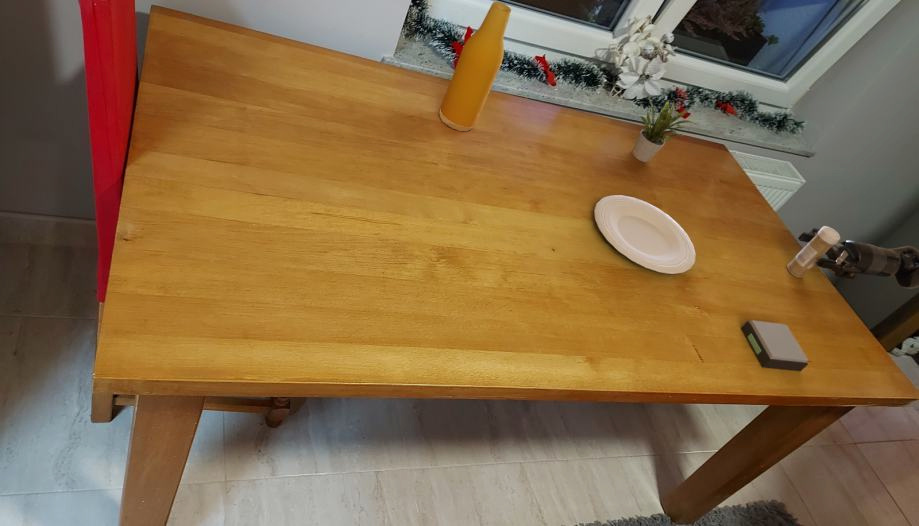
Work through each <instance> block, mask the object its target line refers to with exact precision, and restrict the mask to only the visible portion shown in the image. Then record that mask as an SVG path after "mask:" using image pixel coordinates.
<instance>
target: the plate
mask: <svg viewBox="0 0 919 526" xmlns="http://www.w3.org/2000/svg"><path fill="white" fill-rule="evenodd" d="M593 214H594V221H595V224H596V226H597V229H598V230H599V232H600V233H601V235H602V236H603V237H604V239H605V240H606V242H608V244H609V245H610V246H612V248H614V249H615V250H616V251H617V252H618V253H619V254H620V255H622V256H624V257H625V258H626V259H628V260H629V261H631V263H632V262H633V263H634V264H636V265H638V266H640V267H642V268H644V269H647V270H649V271H653V272H656V273H659V274H665V275H680V274H684V273H686V272H688V271H689V270H691V269H692V267H693V266H694V264H695V263H696V255H697V254H696V250H695V247H694V244H693V242H692V241H691V238H690V237H689V235H688V233H687V232H686V231H685V230H684V228H683V227H682V226H681V225H680V224H679V223H678V222H677V221H676V220H674V219H673V218H672V217H671V215H669V214H667V213H666V212H664V211H663V210H661V209H660V208H658V207H656V206H655V205H654V204H650V203H649V202H647V201H645V200H642V199H639V198H637V197H633V196H628V195H622V194H620V195H619V194H612V195H611V194H610V195H607V196H605V197H604V196H603V197H602V198H601V199H600V200H599V201H597V202H596V204H595V207H594V209H593Z"/></svg>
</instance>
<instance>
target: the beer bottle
mask: <svg viewBox="0 0 919 526" xmlns="http://www.w3.org/2000/svg"><path fill="white" fill-rule="evenodd" d="M511 13H512V8H510V6H508V5H507V4H505V3H503V2H500V1H493V2H492V4H491V5H490V7H489V9H488V11H487V12H486V15H485V17H484V19H483V20H482V23H481V24H480V26H479V28H478V29H477V30H476V31H475V32H474V33H472V34H471V36H469V37H468V39H467V40H466V41H465V43H464V45H463V47H462V50H461V51H460V55H459V58H458V61H457V62H456V66H455V68H454V71H453V74H452V76H451V79H450V82H449V84H448V87H447V89H446V93H445V94H444V98H443V100H442V102H441V105H440V107H441V108H440V107H439V110H440V109H441V112H442V114H443V115H444V116H445V117H446V118H447V119H448V120H450V121H451V122H453V123H455V124H457V125H461V126H464V127H471V126H474V125H475V124H476V125H477V123H478V121H479V118H480V116H481V113H482V111H483V108H484V106H485V104H486V101H487V99H488V96H489V94H490V92H491V90H492V87H493V85H494V82H495V80H496V77H497V75H498V73H499V71H500V69H501V66H502V63H503V60H504V55H505V54H504V52H505V48H504V46H505V45H504V38H505V33H506V29H507V27H508V23H509V20H510V17H511ZM476 125H475V126H476Z"/></svg>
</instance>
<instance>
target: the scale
mask: <svg viewBox="0 0 919 526" xmlns="http://www.w3.org/2000/svg"><path fill="white" fill-rule="evenodd" d="M740 330H741V332H742V333H743V335H744V338H745V339H746V341H747V343H748V345H749V346H750V348H751V350H752V352H753V353H754V356H755V357H756V359H757V361H758V363H759V364H760V366H761V368H762V369H773V370H784V371H792V372H793V371H794V372H802V371H803V370H805V368H806V367H807V366H808V365H809V363H808V361H809V359H808V357H807V355H806V354H805V352H804V351H803V349H802V347H801V346H800V345H799V342H798V341H797V339H796V338H795V335H794V334H793V333H792V331H791V329H790V328H789V326H788V324H784V323H777V322H771V321H762V320H761V321H760V320H754V319H752V320H750V321H749V320H747V321H746V322H745V323H744V324H743V325H742V326H741V327H740Z"/></svg>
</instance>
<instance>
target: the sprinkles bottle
mask: <svg viewBox="0 0 919 526" xmlns="http://www.w3.org/2000/svg"><path fill="white" fill-rule="evenodd" d="M819 229H820V230H819V231H818V233H817V235H816V236H815V237H814V238H813V239H812V240H811V241H810V242H809V243H808V242H807V244H806V245H805V246H804V247H802V249H801V250H800V251H799V252H798V253H797V254H796V255H795V257H794V258H793V259H792V260H791V261H790V262H789V263H788V264H787V265H786V269H787V272H788V273H790V275H791V276H794V277H795V278H800V279H802V278H804V277H805V275H806V274H807V273H808V272H809V271H810V270H811V269H812V268H813V267H814V266H815V265H816V263H817V262H818V261H819V260H820V259H821V258H823V256H824V255H826V254H825V253H826V252H827V251H828V250H829V249H830V248H831V247H832V246H833V245H834V244H836V243H837V242H839V241H840V240H841V235H840V234H839V232H838V231H837V230H835V229H834V228H832V227H830V226H828V225H823V226H822V227H821V228H819Z"/></svg>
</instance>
